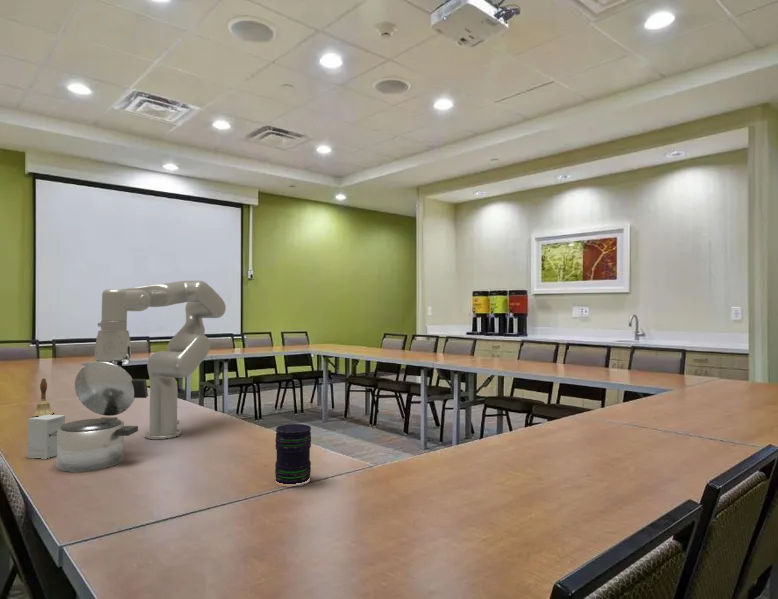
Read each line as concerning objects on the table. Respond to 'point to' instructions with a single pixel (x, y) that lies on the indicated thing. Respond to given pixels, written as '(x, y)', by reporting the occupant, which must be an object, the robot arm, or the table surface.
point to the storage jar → (293, 453)
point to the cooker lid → (108, 388)
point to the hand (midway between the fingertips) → (112, 381)
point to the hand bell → (43, 402)
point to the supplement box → (43, 435)
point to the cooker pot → (91, 444)
